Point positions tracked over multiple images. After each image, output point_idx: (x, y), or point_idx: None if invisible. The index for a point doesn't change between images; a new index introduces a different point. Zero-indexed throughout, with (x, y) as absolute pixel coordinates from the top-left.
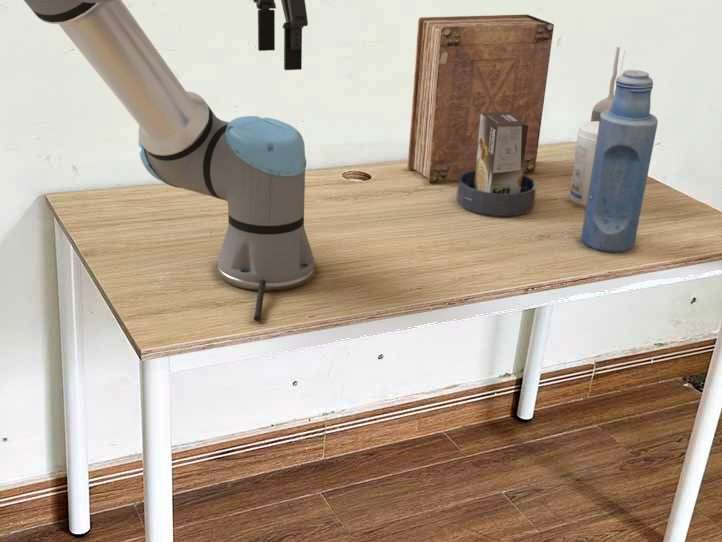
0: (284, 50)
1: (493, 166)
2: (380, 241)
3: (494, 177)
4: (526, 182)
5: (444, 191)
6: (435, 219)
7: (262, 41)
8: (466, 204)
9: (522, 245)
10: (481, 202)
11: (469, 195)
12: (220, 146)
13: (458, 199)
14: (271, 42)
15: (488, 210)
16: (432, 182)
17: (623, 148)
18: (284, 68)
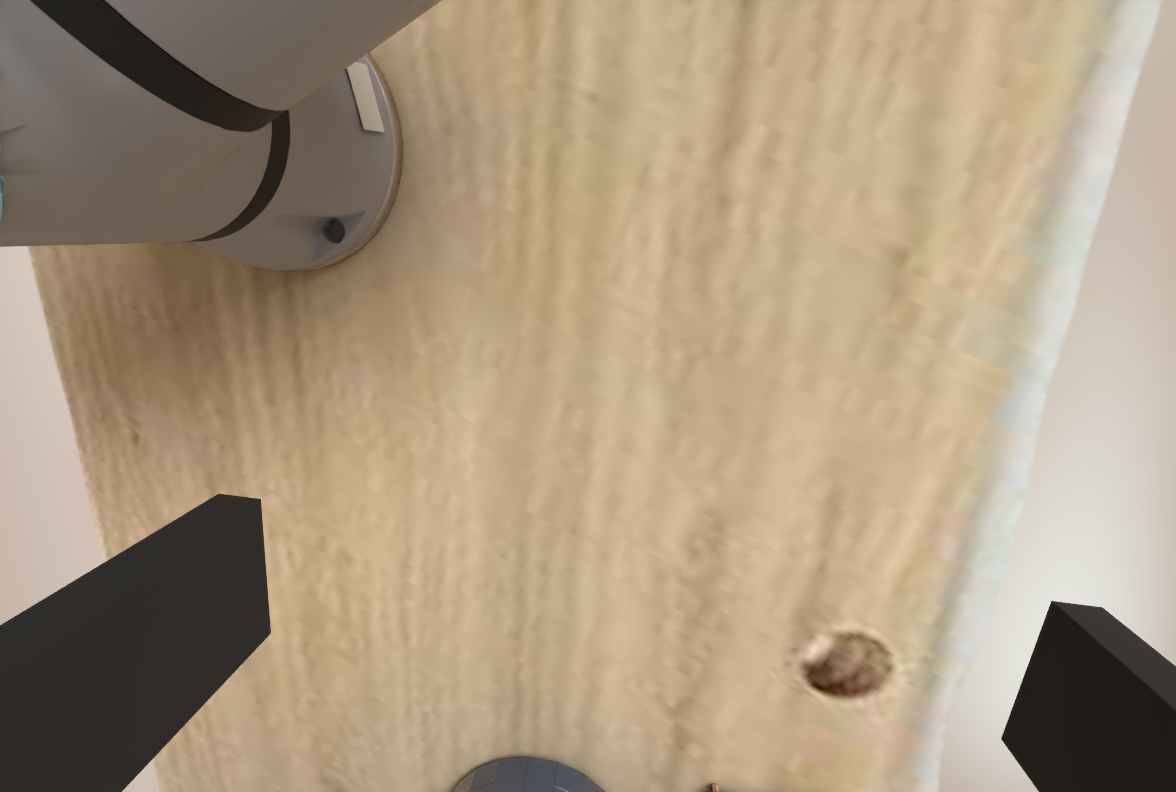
0: (85, 605)
1: None
2: (400, 496)
3: None
4: None
5: (651, 781)
6: (491, 671)
7: (1117, 706)
8: (516, 766)
9: (305, 737)
10: (474, 790)
11: (502, 789)
12: None
13: (552, 769)
14: (1066, 784)
15: (465, 783)
16: (710, 789)
17: None
18: (241, 501)
